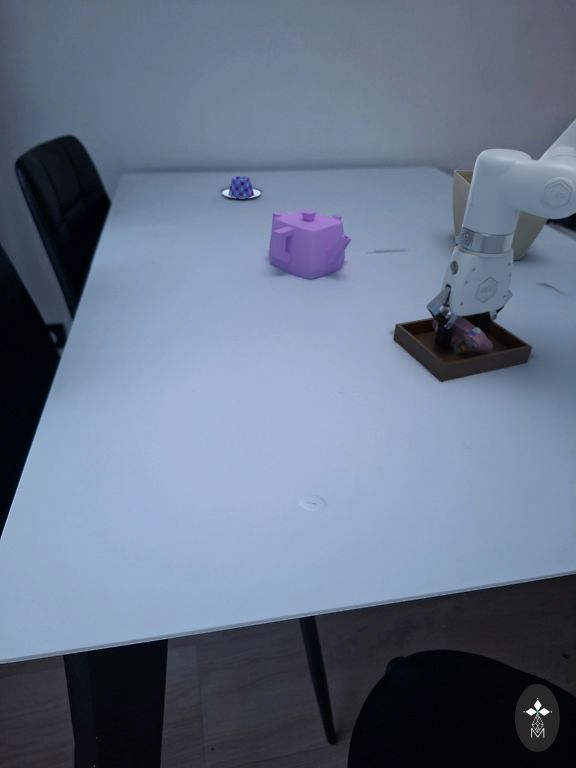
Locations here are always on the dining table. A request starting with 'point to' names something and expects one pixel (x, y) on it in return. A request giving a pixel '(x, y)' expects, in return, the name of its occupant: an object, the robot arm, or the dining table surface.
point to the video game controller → (468, 337)
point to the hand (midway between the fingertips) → (460, 341)
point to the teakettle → (307, 243)
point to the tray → (454, 361)
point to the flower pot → (526, 223)
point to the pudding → (241, 188)
